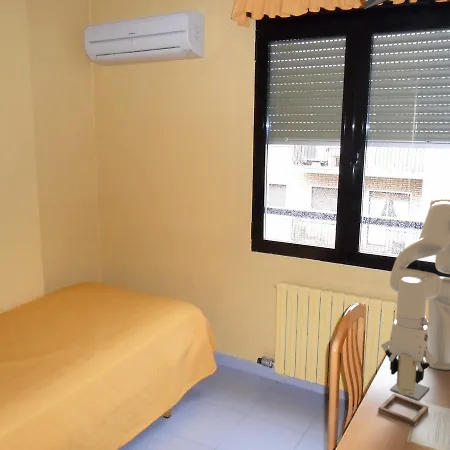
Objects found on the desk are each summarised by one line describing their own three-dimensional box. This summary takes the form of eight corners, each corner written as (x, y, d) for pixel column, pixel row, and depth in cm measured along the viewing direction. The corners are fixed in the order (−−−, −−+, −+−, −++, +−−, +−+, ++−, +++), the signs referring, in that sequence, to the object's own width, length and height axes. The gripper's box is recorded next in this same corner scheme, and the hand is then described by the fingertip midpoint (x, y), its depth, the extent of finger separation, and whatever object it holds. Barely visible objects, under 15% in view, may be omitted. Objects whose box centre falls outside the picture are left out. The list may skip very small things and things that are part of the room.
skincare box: (414, 396, 138) (418, 357, 135) (399, 394, 138) (401, 356, 136) (411, 384, 144) (414, 347, 141) (396, 383, 145) (398, 346, 142)
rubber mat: (402, 379, 160) (402, 378, 160) (429, 389, 154) (429, 387, 154) (390, 389, 154) (390, 388, 154) (418, 400, 148) (418, 399, 148)
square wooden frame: (393, 397, 149) (393, 393, 149) (427, 410, 142) (428, 406, 142) (378, 412, 142) (378, 407, 141) (413, 426, 135) (414, 422, 134)
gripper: (446, 324, 133) (441, 382, 137) (386, 308, 145) (383, 362, 149) (436, 333, 128) (431, 393, 132) (375, 316, 140) (372, 372, 143)
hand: (406, 376), depth 140 cm, fingers closed on skincare box, 6 cm apart
